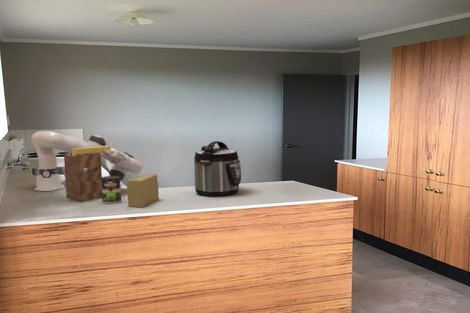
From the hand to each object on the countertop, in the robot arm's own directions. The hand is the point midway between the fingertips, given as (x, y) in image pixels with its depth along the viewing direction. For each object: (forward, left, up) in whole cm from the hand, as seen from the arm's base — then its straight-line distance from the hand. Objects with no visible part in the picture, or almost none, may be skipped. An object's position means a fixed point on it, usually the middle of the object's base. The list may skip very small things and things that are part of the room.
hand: (101, 149), depth 263 cm
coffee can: (+18, +7, -29) cm, 34 cm away
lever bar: (+4, -5, -2) cm, 7 cm away
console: (+3, -10, -28) cm, 30 cm away
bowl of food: (-64, -26, -29) cm, 75 cm away
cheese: (+27, +26, -29) cm, 47 cm away
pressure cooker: (+8, +69, -29) cm, 75 cm away
